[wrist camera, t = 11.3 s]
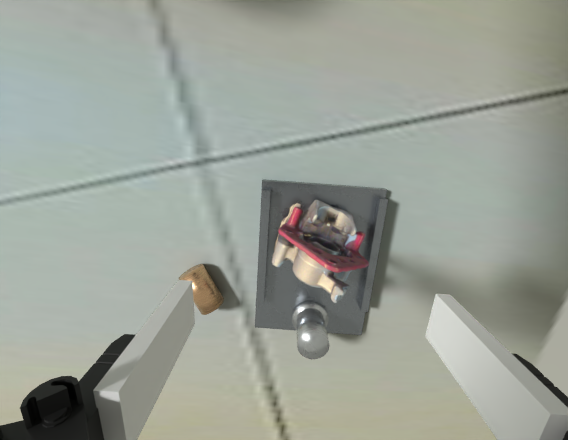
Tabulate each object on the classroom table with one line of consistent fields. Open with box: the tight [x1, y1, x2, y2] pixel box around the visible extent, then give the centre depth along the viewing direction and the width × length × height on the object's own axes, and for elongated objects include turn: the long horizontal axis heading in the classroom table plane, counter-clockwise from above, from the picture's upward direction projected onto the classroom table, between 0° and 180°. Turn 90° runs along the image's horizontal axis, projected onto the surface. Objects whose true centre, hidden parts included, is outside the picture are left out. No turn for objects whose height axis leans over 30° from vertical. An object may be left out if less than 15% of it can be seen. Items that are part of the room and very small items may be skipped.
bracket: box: [255, 180, 388, 359], centre depth 35 cm, size 22×16×7 cm
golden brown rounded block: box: [179, 264, 224, 315], centre depth 38 cm, size 6×4×4 cm, turn 26°
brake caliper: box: [272, 200, 369, 303], centre depth 33 cm, size 11×11×12 cm
